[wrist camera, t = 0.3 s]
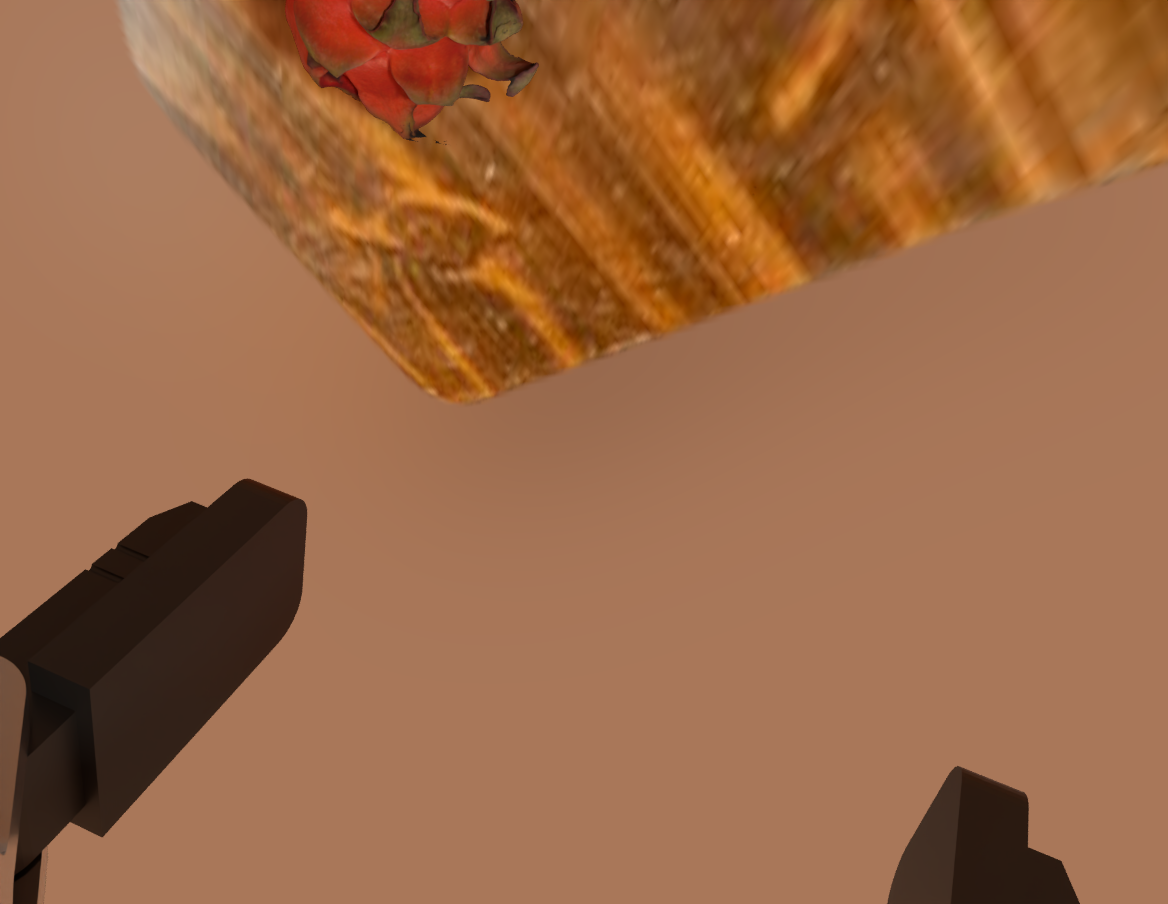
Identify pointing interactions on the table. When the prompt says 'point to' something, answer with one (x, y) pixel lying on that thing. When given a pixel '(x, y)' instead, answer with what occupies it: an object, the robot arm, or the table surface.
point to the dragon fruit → (408, 52)
